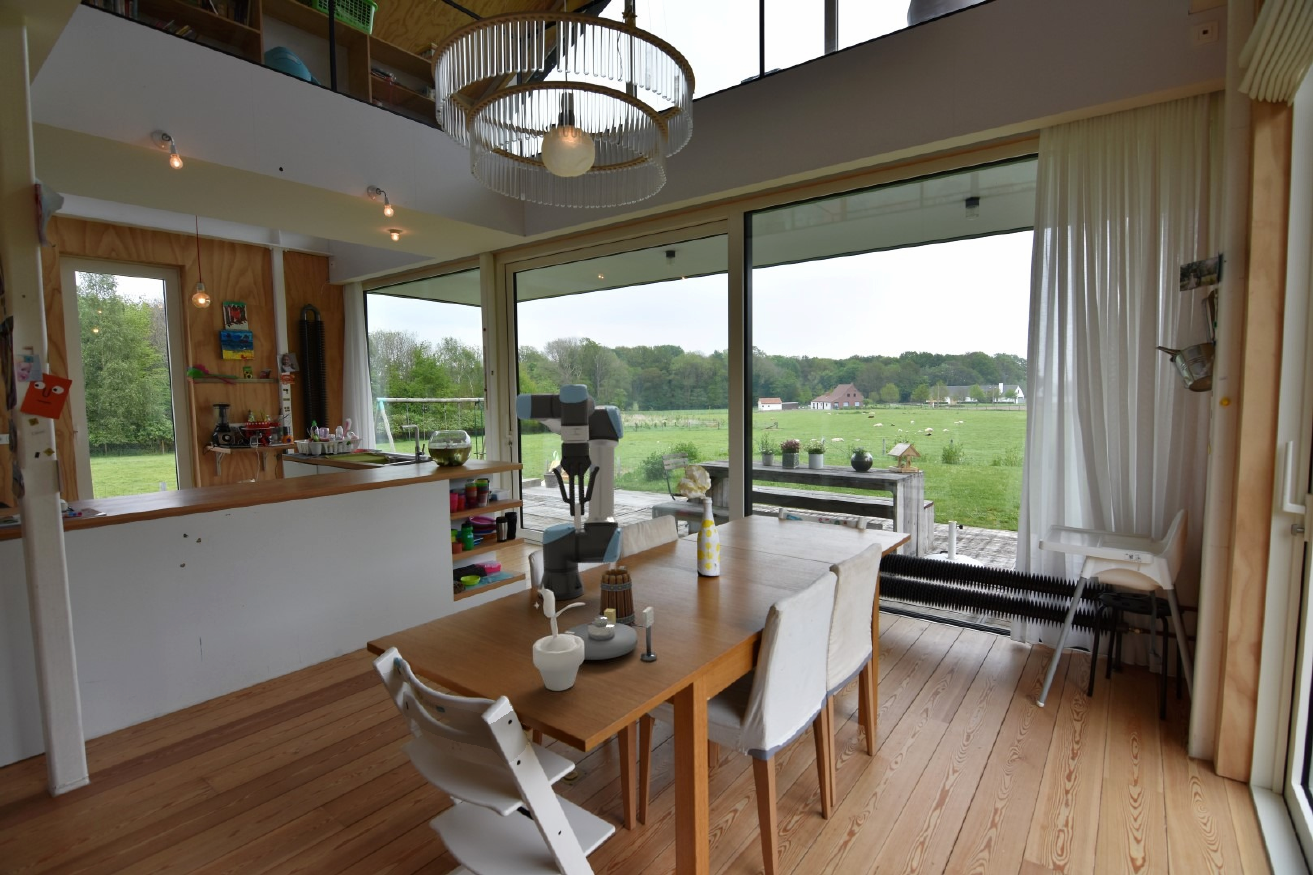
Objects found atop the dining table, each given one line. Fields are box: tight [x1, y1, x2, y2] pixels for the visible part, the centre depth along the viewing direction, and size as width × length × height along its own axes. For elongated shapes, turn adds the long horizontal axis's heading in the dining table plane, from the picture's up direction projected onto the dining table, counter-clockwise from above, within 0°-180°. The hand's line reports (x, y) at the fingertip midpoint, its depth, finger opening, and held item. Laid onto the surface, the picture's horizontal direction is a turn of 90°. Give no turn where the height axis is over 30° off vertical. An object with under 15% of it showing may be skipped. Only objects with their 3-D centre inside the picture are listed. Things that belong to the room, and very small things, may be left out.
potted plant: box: [532, 586, 586, 692], centre depth 139 cm, size 13×12×25 cm
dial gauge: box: [630, 606, 658, 662], centre depth 154 cm, size 7×4×12 cm, turn 66°
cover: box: [588, 614, 615, 642], centre depth 159 cm, size 7×7×5 cm
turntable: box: [562, 608, 638, 661], centre depth 159 cm, size 20×20×6 cm
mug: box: [598, 565, 636, 627], centre depth 181 cm, size 16×11×15 cm
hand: (577, 527), depth 167 cm, fingers closed
